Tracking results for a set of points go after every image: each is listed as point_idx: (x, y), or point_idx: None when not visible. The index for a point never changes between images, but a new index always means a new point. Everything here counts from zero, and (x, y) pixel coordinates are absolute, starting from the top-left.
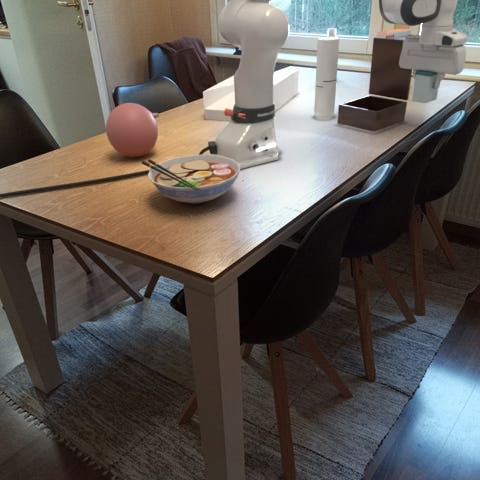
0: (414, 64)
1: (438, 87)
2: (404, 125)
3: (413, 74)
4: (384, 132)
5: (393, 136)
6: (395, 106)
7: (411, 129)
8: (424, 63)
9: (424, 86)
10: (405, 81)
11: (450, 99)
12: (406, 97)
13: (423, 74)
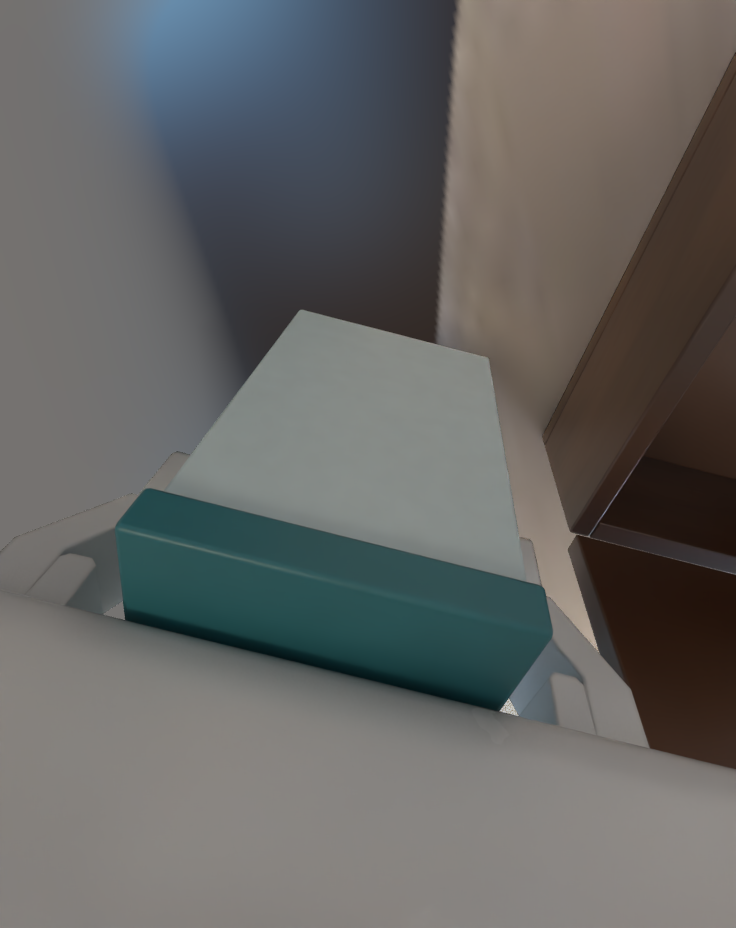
0: (674, 871)
1: None
2: (526, 386)
3: (597, 668)
4: (664, 111)
5: (551, 9)
6: (666, 370)
7: (451, 313)
8: (360, 867)
9: (313, 408)
10: (676, 687)
11: None
12: (590, 554)
13: (329, 543)
